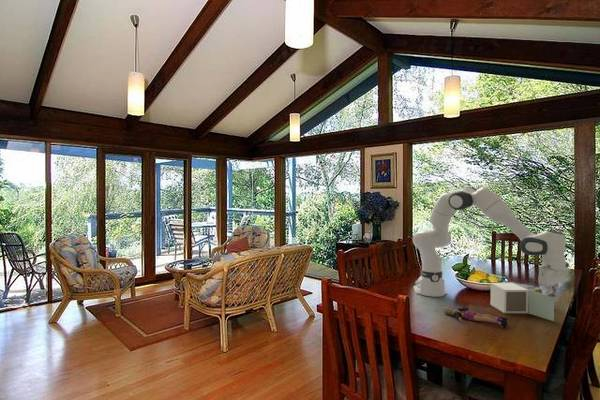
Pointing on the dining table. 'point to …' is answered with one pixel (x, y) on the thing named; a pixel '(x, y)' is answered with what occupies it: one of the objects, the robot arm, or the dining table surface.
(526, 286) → the toy car
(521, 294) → the carton
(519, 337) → the dining table surface
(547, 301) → the end flap
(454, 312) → the character figurine
